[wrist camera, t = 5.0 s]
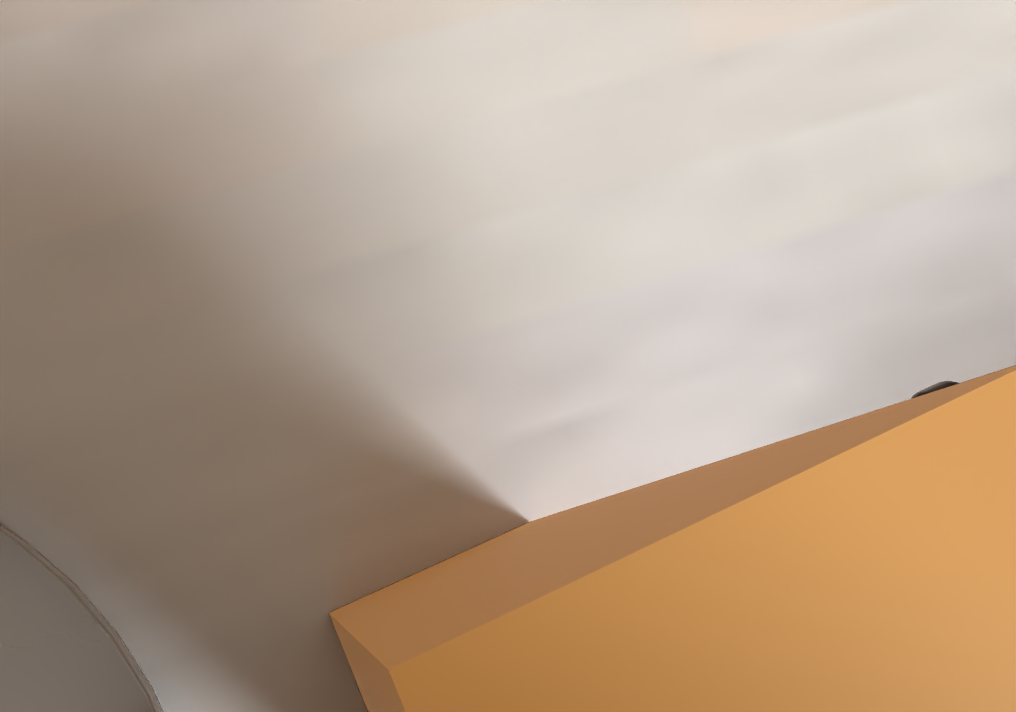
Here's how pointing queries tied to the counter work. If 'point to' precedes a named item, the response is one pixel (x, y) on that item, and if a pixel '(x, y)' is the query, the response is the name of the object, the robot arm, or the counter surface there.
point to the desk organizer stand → (59, 643)
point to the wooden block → (736, 584)
